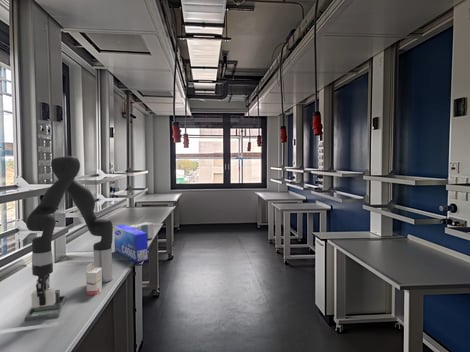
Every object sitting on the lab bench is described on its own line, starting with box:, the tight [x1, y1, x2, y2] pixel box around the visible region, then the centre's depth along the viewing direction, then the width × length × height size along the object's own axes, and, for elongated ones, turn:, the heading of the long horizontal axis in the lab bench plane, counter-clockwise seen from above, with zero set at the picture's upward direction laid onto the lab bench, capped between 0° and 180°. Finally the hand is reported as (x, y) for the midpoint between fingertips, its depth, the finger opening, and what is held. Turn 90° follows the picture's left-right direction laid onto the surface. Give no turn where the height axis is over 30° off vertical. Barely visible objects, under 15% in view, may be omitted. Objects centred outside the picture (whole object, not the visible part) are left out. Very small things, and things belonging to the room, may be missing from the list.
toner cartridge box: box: [113, 224, 149, 263], centre depth 242 cm, size 39×8×18 cm, turn 39°
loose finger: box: [30, 288, 56, 308], centre depth 147 cm, size 4×8×6 cm, turn 108°
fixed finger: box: [54, 289, 61, 304], centre depth 157 cm, size 4×8×6 cm, turn 108°
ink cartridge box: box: [85, 261, 103, 296], centre depth 173 cm, size 9×5×15 cm, turn 4°
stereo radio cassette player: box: [128, 214, 155, 240], centre depth 289 cm, size 21×8×20 cm, turn 148°
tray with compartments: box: [24, 295, 67, 322], centre depth 152 cm, size 20×12×3 cm, turn 18°
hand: (43, 302), depth 147 cm, fingers closed on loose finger, 4 cm apart
